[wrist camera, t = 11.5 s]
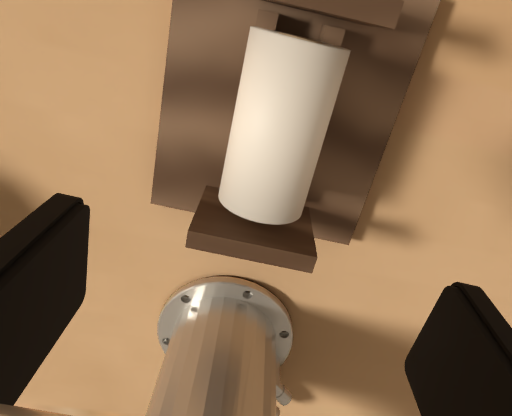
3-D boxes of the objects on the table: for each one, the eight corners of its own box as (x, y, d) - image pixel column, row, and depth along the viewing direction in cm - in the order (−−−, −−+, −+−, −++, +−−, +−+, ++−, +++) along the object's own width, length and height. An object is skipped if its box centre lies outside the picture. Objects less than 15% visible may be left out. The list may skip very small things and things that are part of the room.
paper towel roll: (297, 193, 28) (305, 232, 24) (221, 178, 28) (214, 214, 23) (340, 45, 24) (361, 54, 19) (251, 23, 23) (249, 27, 19)
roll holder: (346, 237, 33) (366, 301, 26) (155, 196, 32) (119, 251, 25) (434, -4, 25) (501, -11, 18) (184, -66, 24) (144, -101, 17)
